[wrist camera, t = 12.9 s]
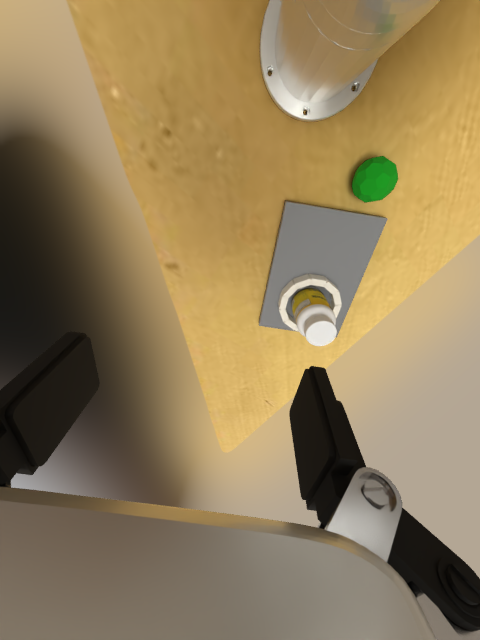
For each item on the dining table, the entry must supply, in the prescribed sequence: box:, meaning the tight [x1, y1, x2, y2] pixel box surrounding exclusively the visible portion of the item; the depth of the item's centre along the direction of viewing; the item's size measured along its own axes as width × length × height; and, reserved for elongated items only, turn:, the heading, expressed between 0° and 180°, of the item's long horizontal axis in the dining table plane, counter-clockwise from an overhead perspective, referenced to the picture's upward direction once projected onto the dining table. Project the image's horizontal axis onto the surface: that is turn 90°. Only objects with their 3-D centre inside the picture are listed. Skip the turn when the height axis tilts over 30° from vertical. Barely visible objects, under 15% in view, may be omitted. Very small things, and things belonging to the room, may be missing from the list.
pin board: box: [259, 201, 387, 337], centre depth 38 cm, size 20×14×4 cm
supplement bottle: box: [291, 287, 337, 346], centre depth 36 cm, size 5×5×10 cm
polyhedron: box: [352, 156, 398, 202], centre depth 31 cm, size 5×5×5 cm
